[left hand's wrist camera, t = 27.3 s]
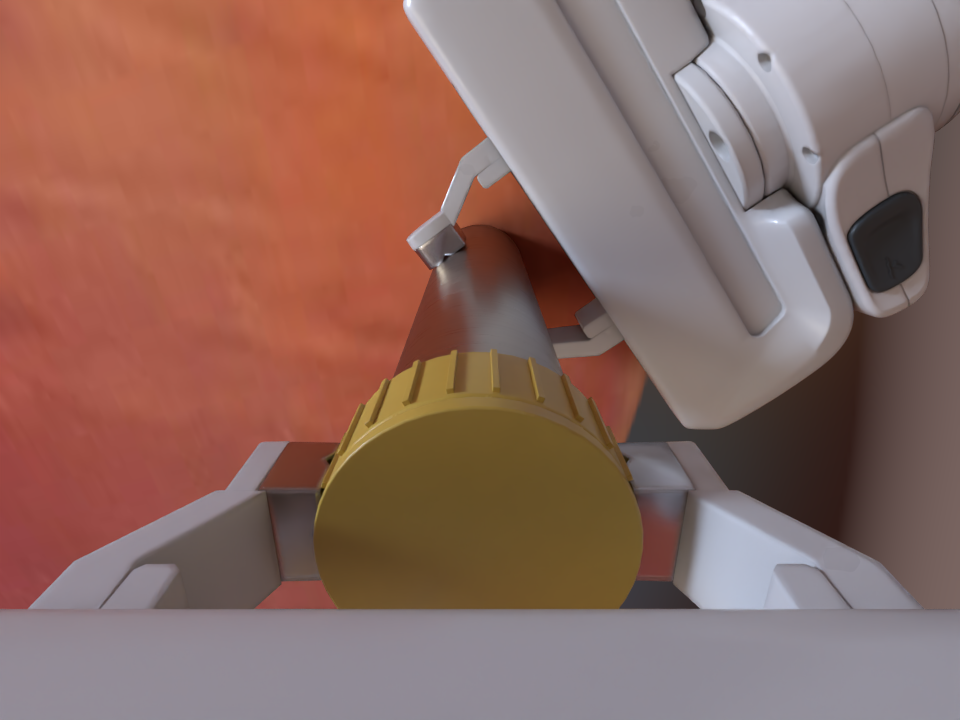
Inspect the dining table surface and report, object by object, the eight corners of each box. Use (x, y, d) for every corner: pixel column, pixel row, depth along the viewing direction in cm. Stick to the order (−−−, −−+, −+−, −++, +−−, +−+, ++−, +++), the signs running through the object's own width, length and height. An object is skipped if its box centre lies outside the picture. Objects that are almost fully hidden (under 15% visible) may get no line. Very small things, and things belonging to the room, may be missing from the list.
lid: (300, 519, 11) (259, 606, 9) (415, 294, 9) (396, 338, 7) (527, 613, 12) (537, 713, 10) (669, 425, 10) (718, 498, 8)
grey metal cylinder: (425, 293, 27) (324, 570, 10) (453, 211, 26) (395, 362, 8) (503, 321, 28) (544, 632, 10) (535, 242, 26) (648, 448, 9)
